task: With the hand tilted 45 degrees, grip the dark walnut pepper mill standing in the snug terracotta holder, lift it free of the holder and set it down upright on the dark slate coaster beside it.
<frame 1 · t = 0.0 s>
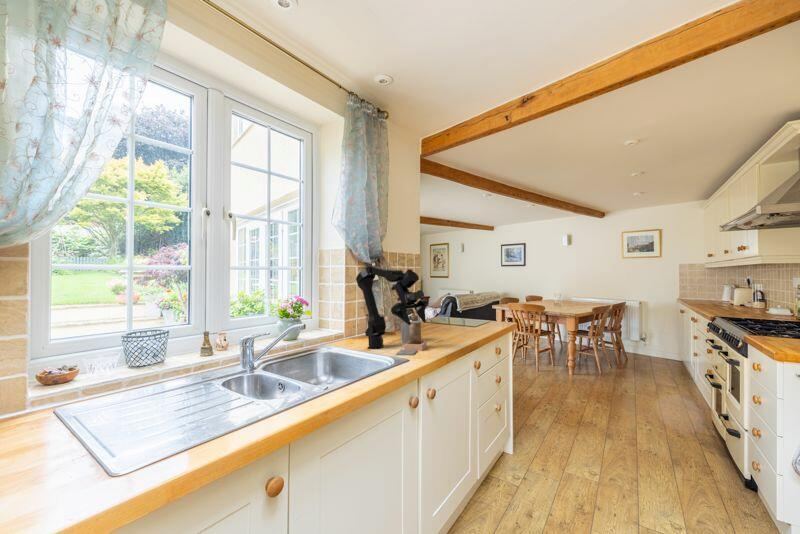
hand: (417, 323, 148), 15 cm above the worktop, tool tilted 35°, fingers open, 9 cm apart
slate coaster: (406, 352, 157), on the worktop
holder: (415, 348, 166), on the worktop
pepper mill: (415, 332, 166), in the holder
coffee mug: (412, 341, 184), on the worktop
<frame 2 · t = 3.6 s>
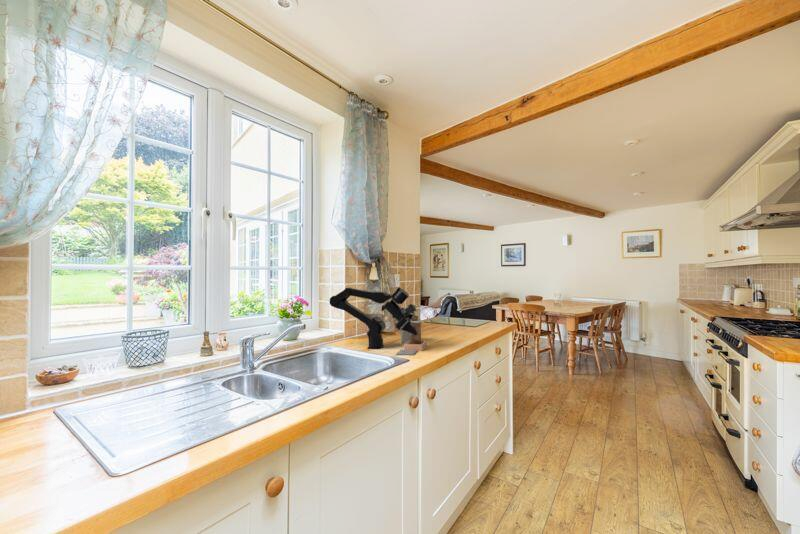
hand: (418, 333, 165), 8 cm above the worktop, tool tilted 45°, fingers closed on pepper mill, 6 cm apart
pepper mill: (415, 332, 166), in the holder, touching gripper
everything else where it was.
when the fingers open (9 cm above the worktop, at t = 7.2 s): pepper mill stays where it is, resting on slate coaster.
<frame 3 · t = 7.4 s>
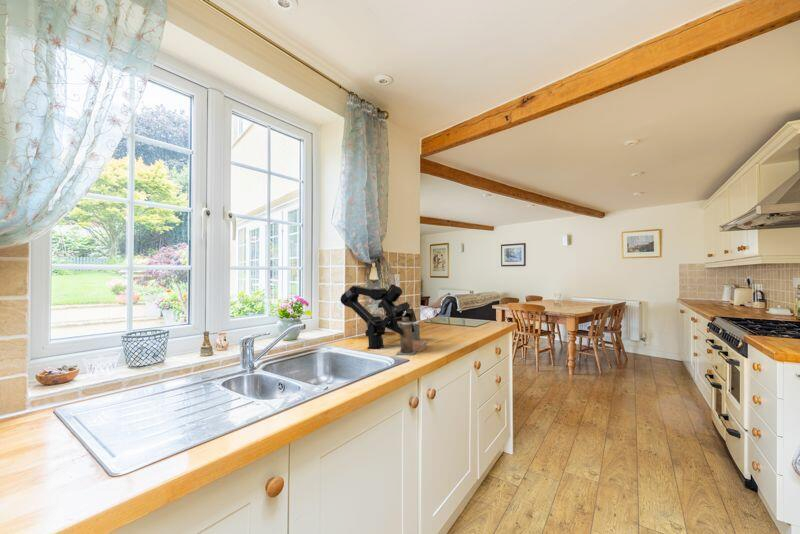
hand: (408, 333, 157), 9 cm above the worktop, tool tilted 45°, fingers open, 8 cm apart
pepper mill: (406, 334, 158), on the slate coaster, point 9 cm above the worktop
everything else where it was.
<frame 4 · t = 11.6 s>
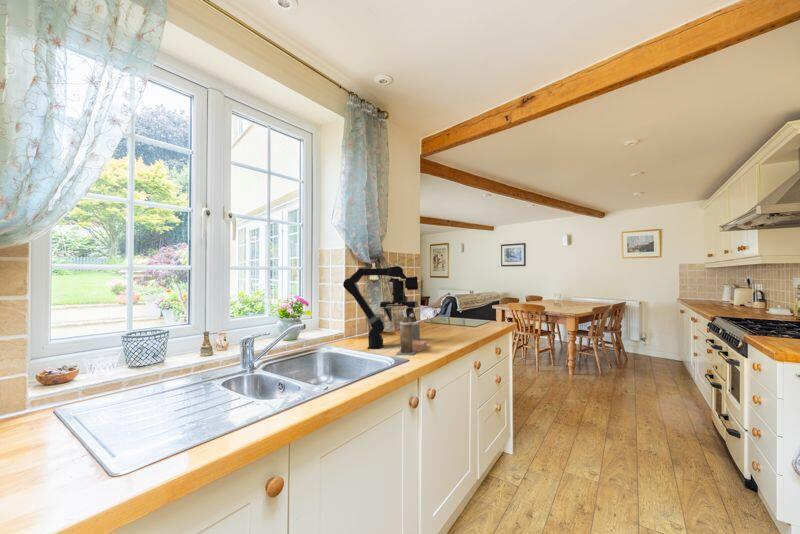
hand: (399, 321, 171), 13 cm above the worktop, tool pointing down, fingers open, 9 cm apart
nothing on the worktop moved.
at the end: pepper mill 0.1 cm from the slate coaster (horizontally); pepper mill tilted 0°; pepper mill touching slate coaster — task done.
